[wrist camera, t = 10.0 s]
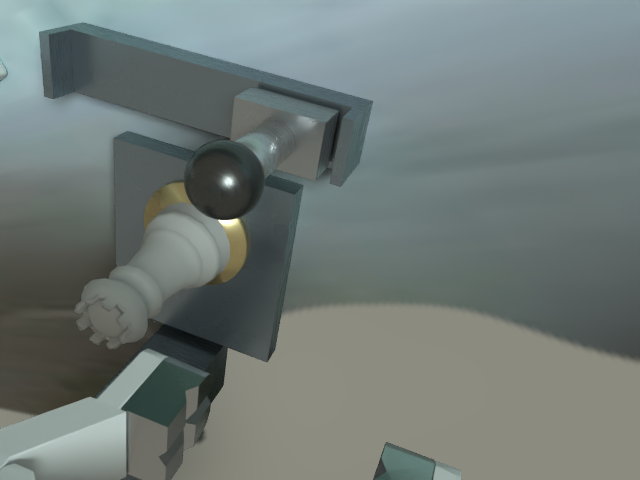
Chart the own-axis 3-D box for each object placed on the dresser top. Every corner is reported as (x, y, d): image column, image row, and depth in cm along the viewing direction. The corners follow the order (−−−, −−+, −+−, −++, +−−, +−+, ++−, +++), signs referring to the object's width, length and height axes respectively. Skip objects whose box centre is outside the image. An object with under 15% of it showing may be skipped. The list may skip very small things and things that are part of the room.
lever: (339, 108, 25) (266, 175, 18) (327, 168, 26) (256, 250, 20) (252, 84, 25) (152, 140, 19) (246, 143, 27) (151, 214, 20)
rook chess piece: (183, 181, 29) (77, 257, 23) (250, 240, 30) (165, 332, 23) (145, 234, 32) (39, 316, 25) (207, 288, 32) (119, 384, 25)
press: (372, 101, 26) (137, 348, 11) (302, 416, 36) (135, 761, 21) (83, 22, 29) (-421, 131, 14) (96, 336, 39) (-179, 590, 24)
